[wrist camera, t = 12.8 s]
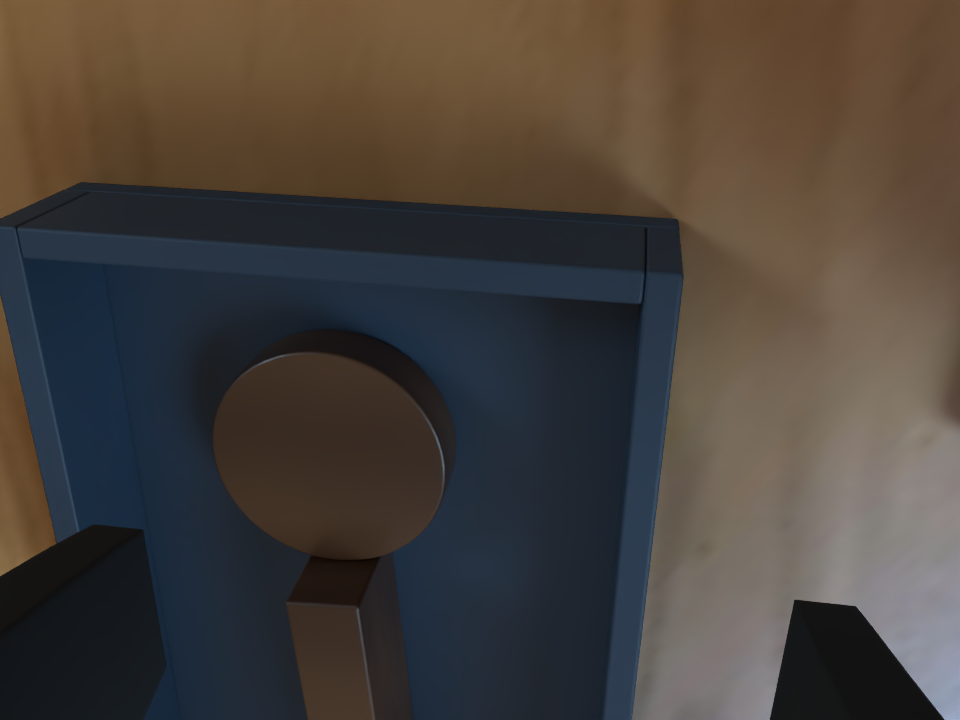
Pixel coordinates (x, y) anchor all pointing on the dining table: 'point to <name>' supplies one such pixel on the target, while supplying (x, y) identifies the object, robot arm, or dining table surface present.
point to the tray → (426, 341)
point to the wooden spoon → (339, 500)
